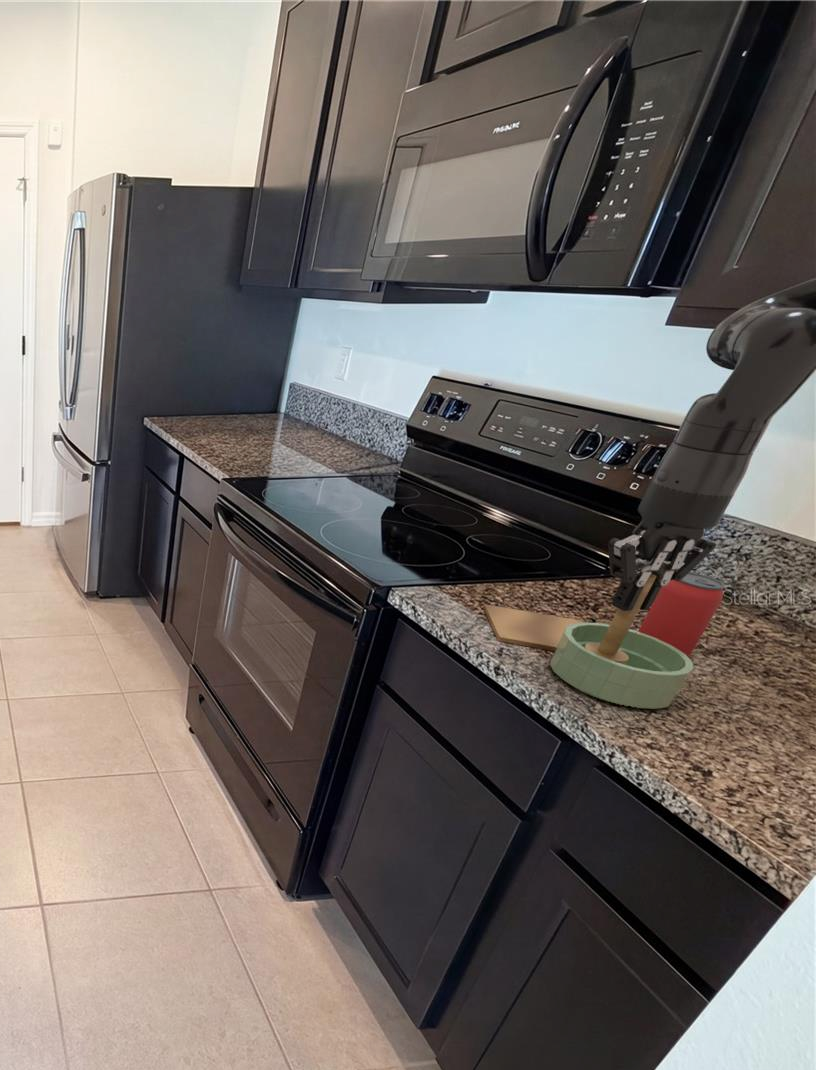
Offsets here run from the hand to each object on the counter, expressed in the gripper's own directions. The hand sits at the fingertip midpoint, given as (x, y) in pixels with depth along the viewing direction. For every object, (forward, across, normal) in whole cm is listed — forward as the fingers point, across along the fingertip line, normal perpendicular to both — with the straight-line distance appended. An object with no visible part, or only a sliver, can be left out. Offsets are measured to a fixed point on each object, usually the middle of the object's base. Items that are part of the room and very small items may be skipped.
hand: (629, 607), depth 88 cm
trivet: (+12, +4, +13) cm, 18 cm away
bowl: (+12, +1, -1) cm, 12 cm away
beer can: (+12, +18, +6) cm, 23 cm away
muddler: (+9, 0, 0) cm, 9 cm away
